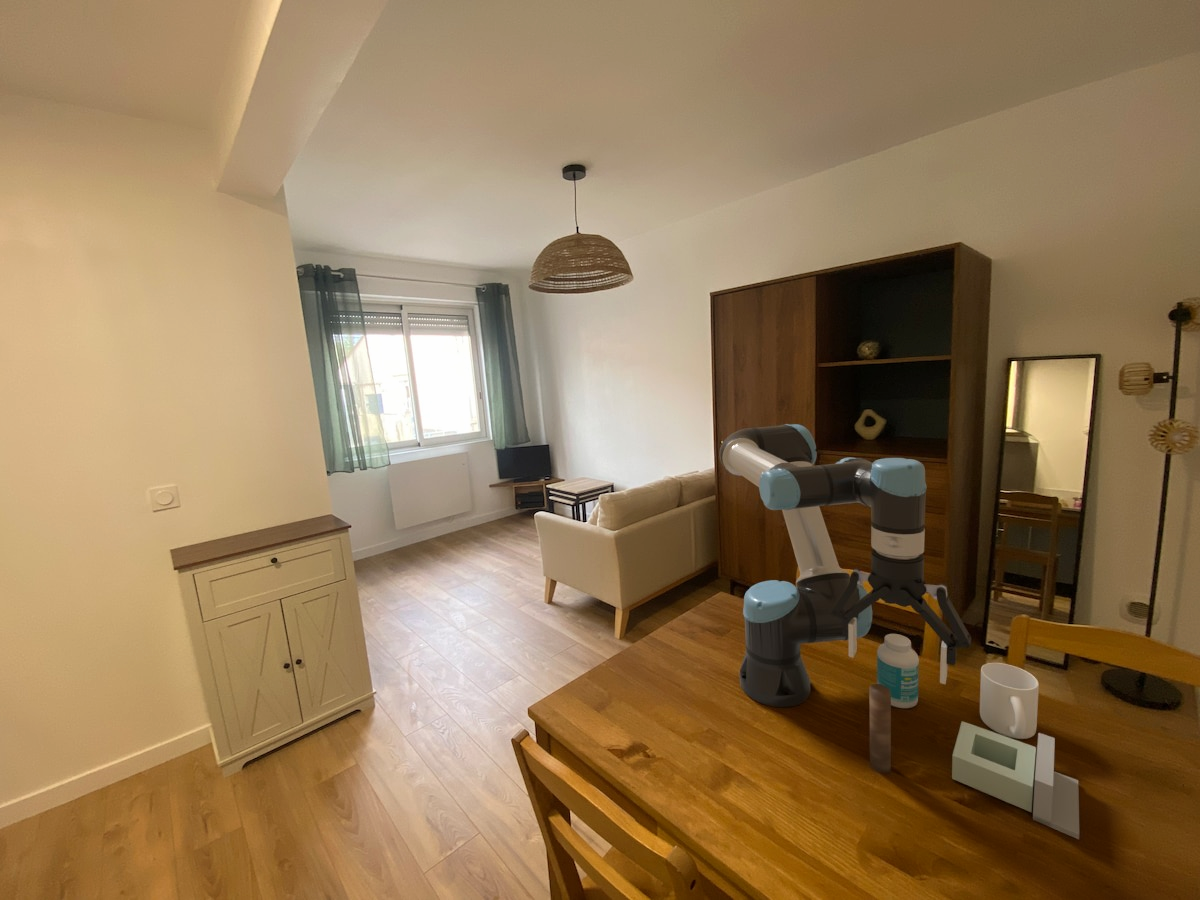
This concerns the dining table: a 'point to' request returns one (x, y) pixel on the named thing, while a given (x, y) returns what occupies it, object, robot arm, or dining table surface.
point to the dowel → (880, 728)
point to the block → (995, 765)
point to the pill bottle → (898, 670)
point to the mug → (1009, 700)
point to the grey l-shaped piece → (1054, 792)
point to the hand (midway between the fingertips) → (895, 665)
